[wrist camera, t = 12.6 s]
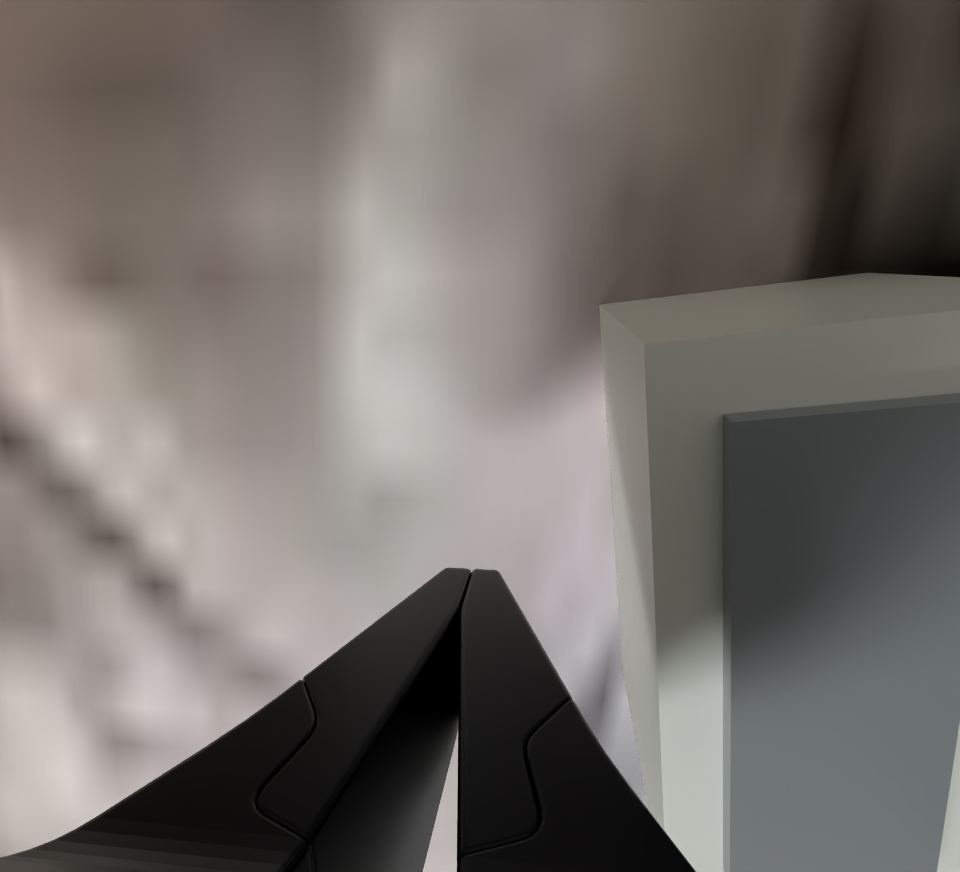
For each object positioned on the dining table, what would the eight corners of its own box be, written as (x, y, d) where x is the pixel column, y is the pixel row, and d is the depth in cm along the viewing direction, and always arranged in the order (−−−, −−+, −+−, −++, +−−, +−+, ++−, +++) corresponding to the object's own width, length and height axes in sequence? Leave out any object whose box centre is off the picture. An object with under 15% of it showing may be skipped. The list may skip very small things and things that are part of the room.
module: (871, 271, 10) (1225, 287, 5) (843, 657, 12) (1058, 945, 7) (598, 304, 10) (648, 349, 5) (621, 664, 13) (672, 933, 8)
